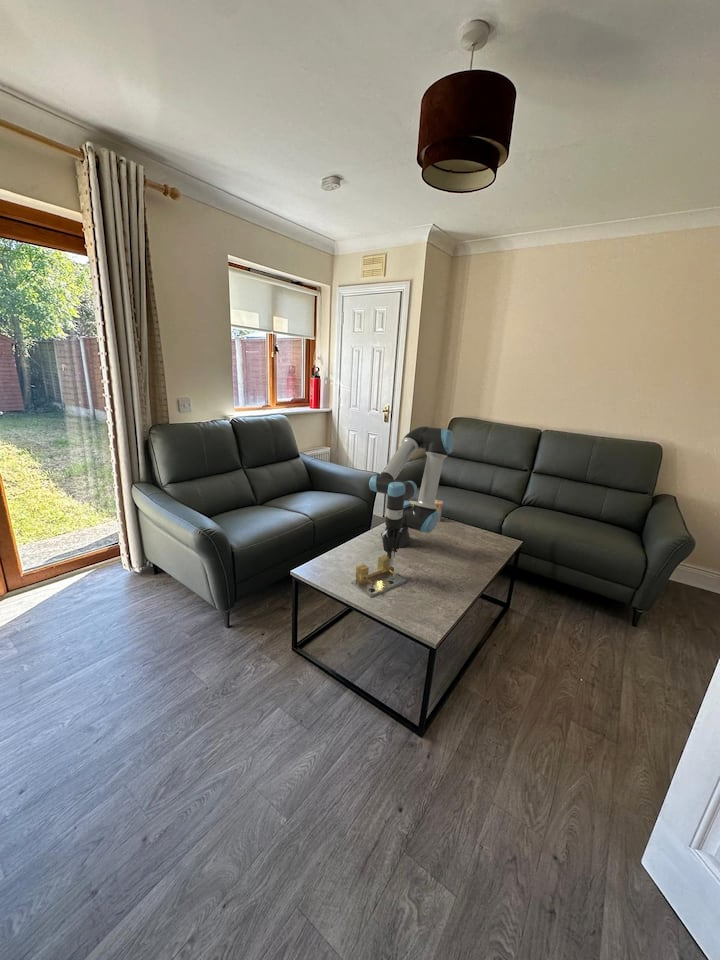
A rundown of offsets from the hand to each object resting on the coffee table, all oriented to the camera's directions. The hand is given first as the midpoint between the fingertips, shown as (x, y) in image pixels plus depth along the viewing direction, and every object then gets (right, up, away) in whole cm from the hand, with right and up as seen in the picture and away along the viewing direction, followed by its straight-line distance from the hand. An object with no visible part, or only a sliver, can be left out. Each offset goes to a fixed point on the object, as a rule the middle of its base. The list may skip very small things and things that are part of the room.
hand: (390, 564), depth 179 cm
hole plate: (-6, -7, -6) cm, 11 cm away
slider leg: (-2, -5, -4) cm, 6 cm away
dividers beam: (-5, -6, -6) cm, 10 cm away
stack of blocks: (+27, +14, +70) cm, 77 cm away
